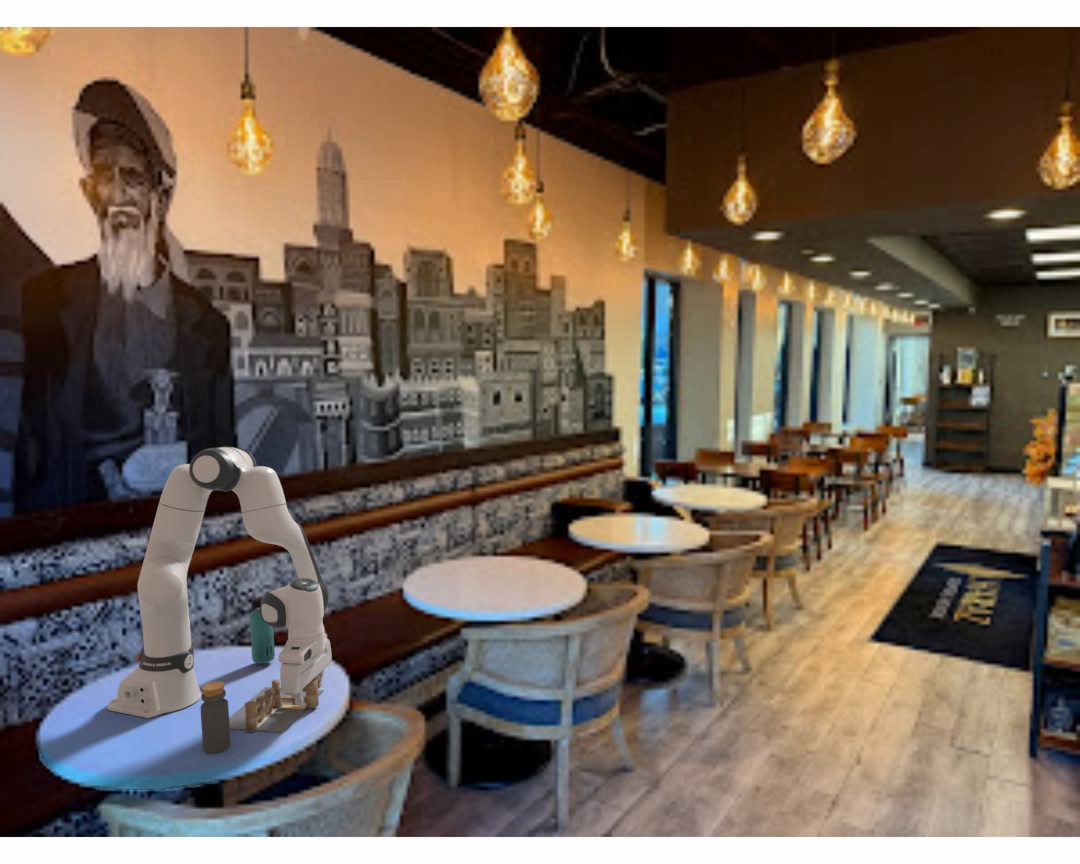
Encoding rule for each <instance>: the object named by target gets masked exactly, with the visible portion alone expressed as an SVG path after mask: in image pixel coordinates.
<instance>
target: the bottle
mask: <svg viewBox="0 0 1080 864" xmlns="http://www.w3.org/2000/svg"><path fill="white" fill-rule="evenodd" d="M201 690H202V691H201V692H202V695H201V697H200V698H201V701H203V703H201V705H200V719H201V720H200V721H201V724H200V725H201V737H202V738H201V739H202V749H203V752H204V753H205V754H209V755H212V754H220V753H223V752H225V751H227V750H228V749H229V748H230V747H231V729H230V724H229V717H230V712H229V700H228V699H227V698H225V697H226V694H227V692H226V690H225V682H224V681H211V682H208V683H205V684H204V685H203V686H202V687H201Z"/></svg>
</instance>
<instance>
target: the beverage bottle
mask: <svg viewBox="0 0 1080 864" xmlns="http://www.w3.org/2000/svg"><path fill="white" fill-rule="evenodd" d="M263 597H264V596H262V597H261V596H258V597H256V598H253V599H252V608H255V609H253V610H252V611H251V612H250V613H249V624H250V643H251V644H250V645H251V648H250V649H251V659H252V661H253V663H255V664H265V663H269V662H272V661H273V660H274V659H275V656H276V652H275V649H276V647H275V638H274V630H275V629H274V627H271V626H269V625H268V624H266V623H265V622H264V621H263V619H262V617H261V613H260V605H261V601H262V599H263Z"/></svg>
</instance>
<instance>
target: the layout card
mask: <svg viewBox="0 0 1080 864" xmlns="http://www.w3.org/2000/svg"><path fill="white" fill-rule="evenodd" d="M271 688H272V686H271V687H270V686H269V687H268V686H265V687H264V688H263V689H261V690H260V691H259V692H258V693H257V694H255V695H254V696H253V697H252V698H250V699H249V700H248V701H247V702H249V701H255V702H256V698H257V697H258V696H261V697H262V696H263V695H264V694H265V690H267V689H271ZM280 693H281V698H282V697H283V696H292V695H286V694H284V693H283V692H282V691H281V687H280ZM322 693H324V690H323V689H318V697H319V696H321V695H322ZM301 694H302V696H304V697H306V692H302V693H301ZM272 699H273V698H272V696H271V700H272ZM264 706H265V702H264V703H263V707H264ZM307 709H309V708H308V707H307V706H306V703H303V704H302V705H301V706H297V705H293V704H292V703H286V702H282V701H281V707H279V708H273V707H272V712H271V713H270V714H264V715H263V716H264V720H263V721H262V722H257V730H256V731H255V732H264V733H278V734H283V733H285V731H286V730H288V728H289V727H290V726H291V725H292V724H293V723H294V722H295V721H296V720H297V719H298V718H299V717H300V716H301V715H302V714H303V713H304V712H305V710H307ZM256 713H257V710H256ZM229 724H230V731H232V730H233V731H234V730H235V731H246V715H245V704H244V705H242V706H241V707H240V708H239V709H237V710H236V711H235V712H234V713H233V714H232V715H230V716H229Z"/></svg>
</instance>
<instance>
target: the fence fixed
mask: <svg viewBox="0 0 1080 864" xmlns="http://www.w3.org/2000/svg"><path fill="white" fill-rule="evenodd" d="M271 687H272V688H271V689H267V690H265V694H264V695H263V696H262V697H261V696H258V697H257V698H256V702H255V701H249V700H248V701H249V702H248V701H247V702H245V703H244V705H245V715H246V730H245V731H246V732H247V733H254V732H257V731H256V730H257V722H262V721H263V720H264V716H263V715H264V714H270V713H271V712H272V707H273V708H279V707H281V693H280V688H281V679H273V680H272V681H271ZM271 696H272V698H273V699H272V700H271ZM264 702H265V706H264V707H263V703H264ZM256 710H257V713H256Z"/></svg>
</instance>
